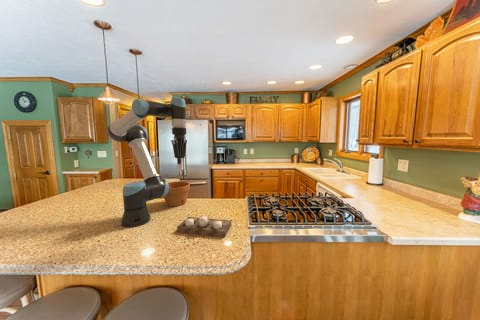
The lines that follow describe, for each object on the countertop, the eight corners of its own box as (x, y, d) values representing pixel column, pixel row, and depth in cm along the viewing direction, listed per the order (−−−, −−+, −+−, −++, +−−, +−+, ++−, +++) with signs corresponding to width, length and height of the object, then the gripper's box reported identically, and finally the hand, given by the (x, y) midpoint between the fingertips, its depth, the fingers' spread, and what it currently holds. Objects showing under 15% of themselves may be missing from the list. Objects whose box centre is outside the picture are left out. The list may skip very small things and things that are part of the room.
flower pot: (173, 210, 130) (172, 189, 129) (155, 204, 142) (154, 185, 140) (196, 201, 148) (195, 183, 146) (178, 197, 159) (177, 180, 158)
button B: (197, 226, 99) (197, 219, 98) (201, 222, 103) (201, 215, 103) (205, 227, 98) (205, 219, 97) (208, 223, 102) (208, 216, 102)
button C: (212, 231, 97) (212, 224, 97) (215, 227, 102) (215, 220, 101) (220, 232, 96) (220, 224, 96) (223, 228, 101) (222, 221, 100)
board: (177, 232, 100) (177, 226, 99) (189, 221, 112) (188, 216, 112) (224, 237, 94) (224, 231, 94) (231, 225, 107) (231, 220, 106)
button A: (183, 228, 101) (183, 221, 100) (187, 225, 105) (187, 218, 104) (191, 229, 100) (191, 222, 99) (195, 225, 104) (194, 218, 104)
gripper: (179, 126, 97) (180, 171, 100) (190, 127, 110) (191, 168, 113) (166, 126, 99) (167, 171, 102) (179, 128, 111) (180, 167, 114)
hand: (180, 169), depth 107 cm, fingers closed
